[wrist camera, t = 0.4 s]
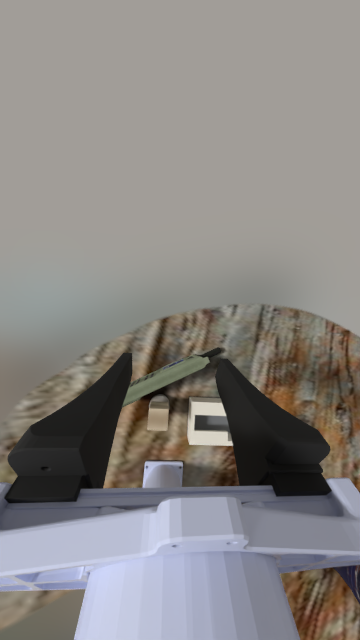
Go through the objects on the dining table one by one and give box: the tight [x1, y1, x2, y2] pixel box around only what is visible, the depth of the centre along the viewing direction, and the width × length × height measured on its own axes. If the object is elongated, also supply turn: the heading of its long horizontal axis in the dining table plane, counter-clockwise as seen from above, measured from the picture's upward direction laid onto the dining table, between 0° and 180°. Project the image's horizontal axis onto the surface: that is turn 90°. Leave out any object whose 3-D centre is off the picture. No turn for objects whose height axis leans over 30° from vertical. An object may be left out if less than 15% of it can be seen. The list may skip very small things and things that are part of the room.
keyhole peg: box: [147, 394, 170, 431], centre depth 33 cm, size 4×4×8 cm
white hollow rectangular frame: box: [187, 396, 233, 446], centre depth 36 cm, size 16×8×4 cm, turn 86°
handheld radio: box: [122, 347, 221, 407], centre depth 35 cm, size 7×3×25 cm
